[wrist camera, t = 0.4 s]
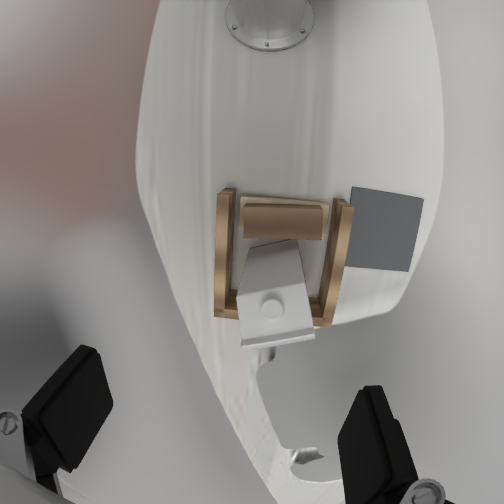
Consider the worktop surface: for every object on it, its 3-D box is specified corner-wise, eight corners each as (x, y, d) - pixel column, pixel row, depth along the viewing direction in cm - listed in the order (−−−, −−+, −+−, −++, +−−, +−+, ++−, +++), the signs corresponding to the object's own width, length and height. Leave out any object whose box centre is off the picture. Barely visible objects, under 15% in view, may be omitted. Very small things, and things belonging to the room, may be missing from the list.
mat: (352, 186, 39) (352, 187, 39) (422, 198, 39) (423, 199, 38) (339, 264, 43) (340, 265, 43) (407, 270, 43) (408, 271, 42)
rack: (225, 187, 41) (217, 194, 35) (343, 199, 40) (354, 207, 34) (221, 297, 47) (214, 316, 41) (325, 306, 46) (330, 327, 40)
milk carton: (305, 281, 45) (319, 361, 27) (260, 290, 46) (250, 373, 28) (296, 238, 43) (308, 302, 25) (249, 248, 44) (229, 317, 26)
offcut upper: (245, 203, 39) (243, 207, 36) (320, 205, 38) (323, 209, 36) (245, 231, 40) (243, 237, 38) (318, 233, 39) (321, 239, 37)
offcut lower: (243, 193, 42) (240, 197, 39) (326, 202, 41) (329, 205, 38) (241, 224, 43) (238, 229, 40) (322, 231, 42) (325, 237, 40)
